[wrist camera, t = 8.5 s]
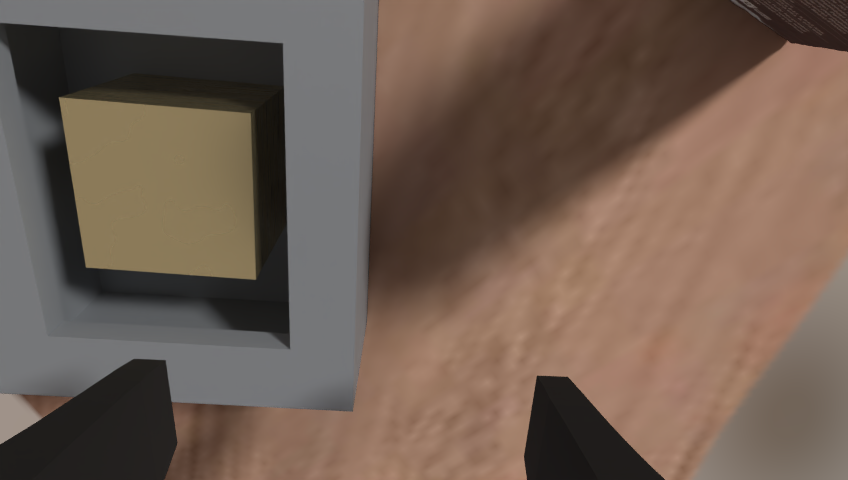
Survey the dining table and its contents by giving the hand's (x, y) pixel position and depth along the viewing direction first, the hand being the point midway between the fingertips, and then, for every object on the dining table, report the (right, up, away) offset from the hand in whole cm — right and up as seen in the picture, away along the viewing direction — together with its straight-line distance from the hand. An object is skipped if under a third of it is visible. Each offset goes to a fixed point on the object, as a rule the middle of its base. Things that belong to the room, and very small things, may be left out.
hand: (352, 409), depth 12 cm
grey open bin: (-5, +6, +7) cm, 11 cm away
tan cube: (-5, +6, +7) cm, 11 cm away
